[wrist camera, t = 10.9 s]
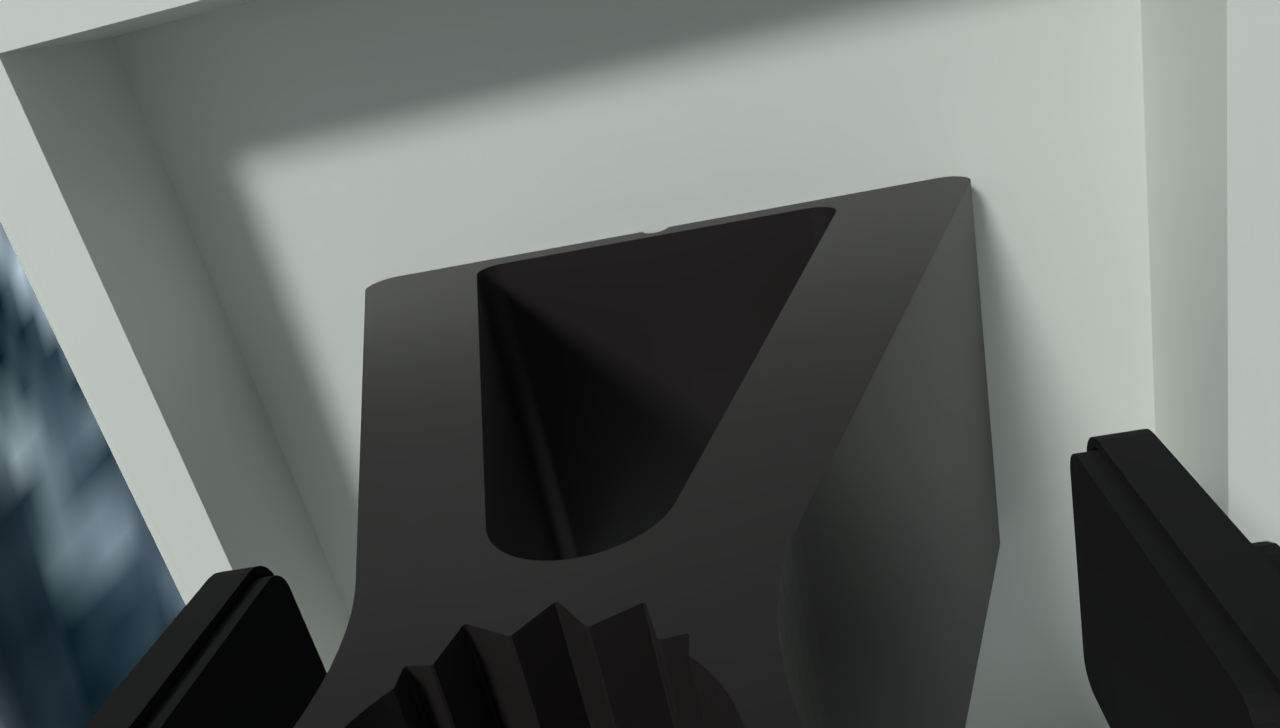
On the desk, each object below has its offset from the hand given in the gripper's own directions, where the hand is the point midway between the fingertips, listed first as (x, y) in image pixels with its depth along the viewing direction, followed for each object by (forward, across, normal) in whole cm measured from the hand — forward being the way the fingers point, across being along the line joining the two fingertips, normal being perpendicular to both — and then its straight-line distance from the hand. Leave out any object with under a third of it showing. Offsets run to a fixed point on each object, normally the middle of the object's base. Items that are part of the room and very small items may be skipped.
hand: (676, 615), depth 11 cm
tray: (+6, 0, 0) cm, 6 cm away
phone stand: (+5, 0, 0) cm, 5 cm away
